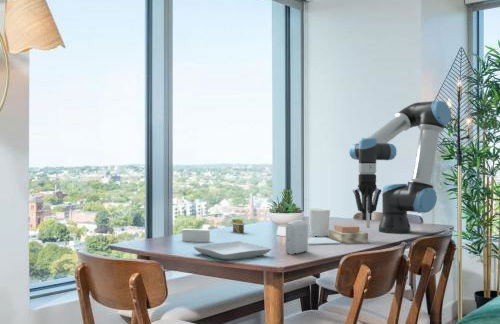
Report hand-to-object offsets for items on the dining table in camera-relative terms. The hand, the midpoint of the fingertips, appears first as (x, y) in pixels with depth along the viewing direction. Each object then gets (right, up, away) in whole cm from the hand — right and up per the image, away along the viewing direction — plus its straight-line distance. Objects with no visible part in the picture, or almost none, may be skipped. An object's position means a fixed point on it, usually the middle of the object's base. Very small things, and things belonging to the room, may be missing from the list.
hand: (366, 227), depth 247 cm
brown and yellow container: (-57, -6, +23) cm, 62 cm away
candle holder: (-19, -5, +14) cm, 24 cm away
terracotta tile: (-9, -1, -2) cm, 10 cm away
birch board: (-9, -5, -2) cm, 10 cm away
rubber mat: (-22, -5, -6) cm, 24 cm away
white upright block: (-33, -6, -34) cm, 48 cm away
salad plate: (-57, -6, -40) cm, 70 cm away
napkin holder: (-74, -6, -6) cm, 75 cm away
